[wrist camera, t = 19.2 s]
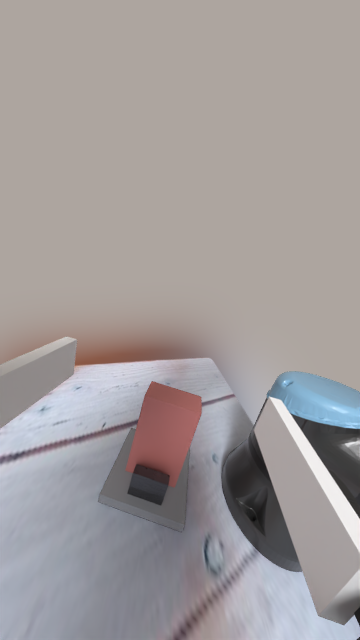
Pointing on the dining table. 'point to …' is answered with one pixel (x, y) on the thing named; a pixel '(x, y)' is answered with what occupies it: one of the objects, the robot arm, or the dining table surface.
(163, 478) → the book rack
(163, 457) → the red rectangular block
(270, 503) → the robot arm
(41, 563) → the dining table surface
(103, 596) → the dining table surface
